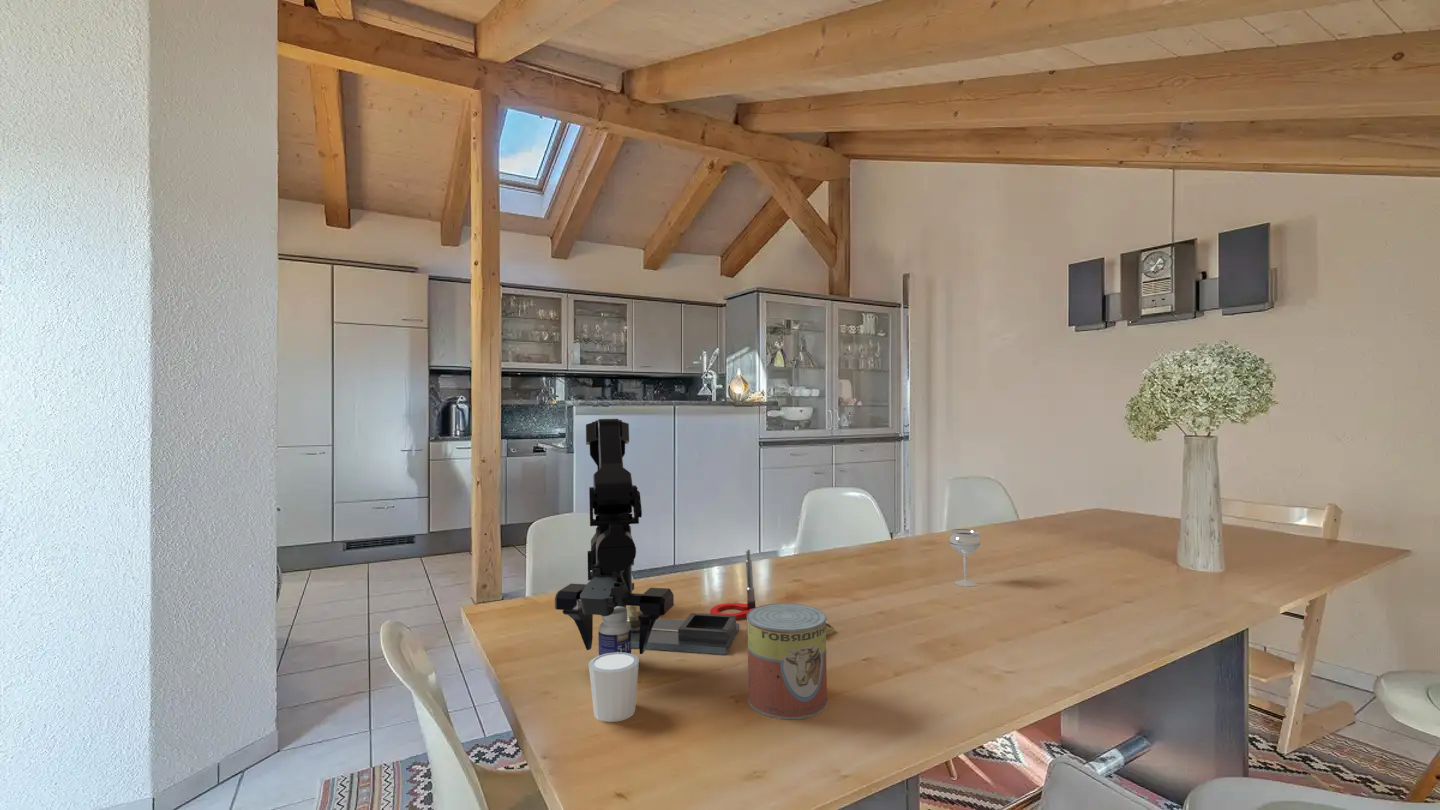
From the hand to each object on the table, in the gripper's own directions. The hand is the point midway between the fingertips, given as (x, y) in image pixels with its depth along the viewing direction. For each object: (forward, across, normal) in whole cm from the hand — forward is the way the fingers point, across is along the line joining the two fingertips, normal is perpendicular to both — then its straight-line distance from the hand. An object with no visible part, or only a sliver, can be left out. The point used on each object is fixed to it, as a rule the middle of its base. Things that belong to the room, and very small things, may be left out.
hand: (615, 651), depth 102 cm
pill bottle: (+2, 0, 0) cm, 2 cm away
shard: (+3, +29, +22) cm, 36 cm away
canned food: (+2, +29, -7) cm, 30 cm away
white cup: (+2, +6, -15) cm, 16 cm away
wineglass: (+2, +63, +58) cm, 86 cm away
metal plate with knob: (+2, +6, +13) cm, 14 cm away
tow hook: (+2, +14, +28) cm, 31 cm away
